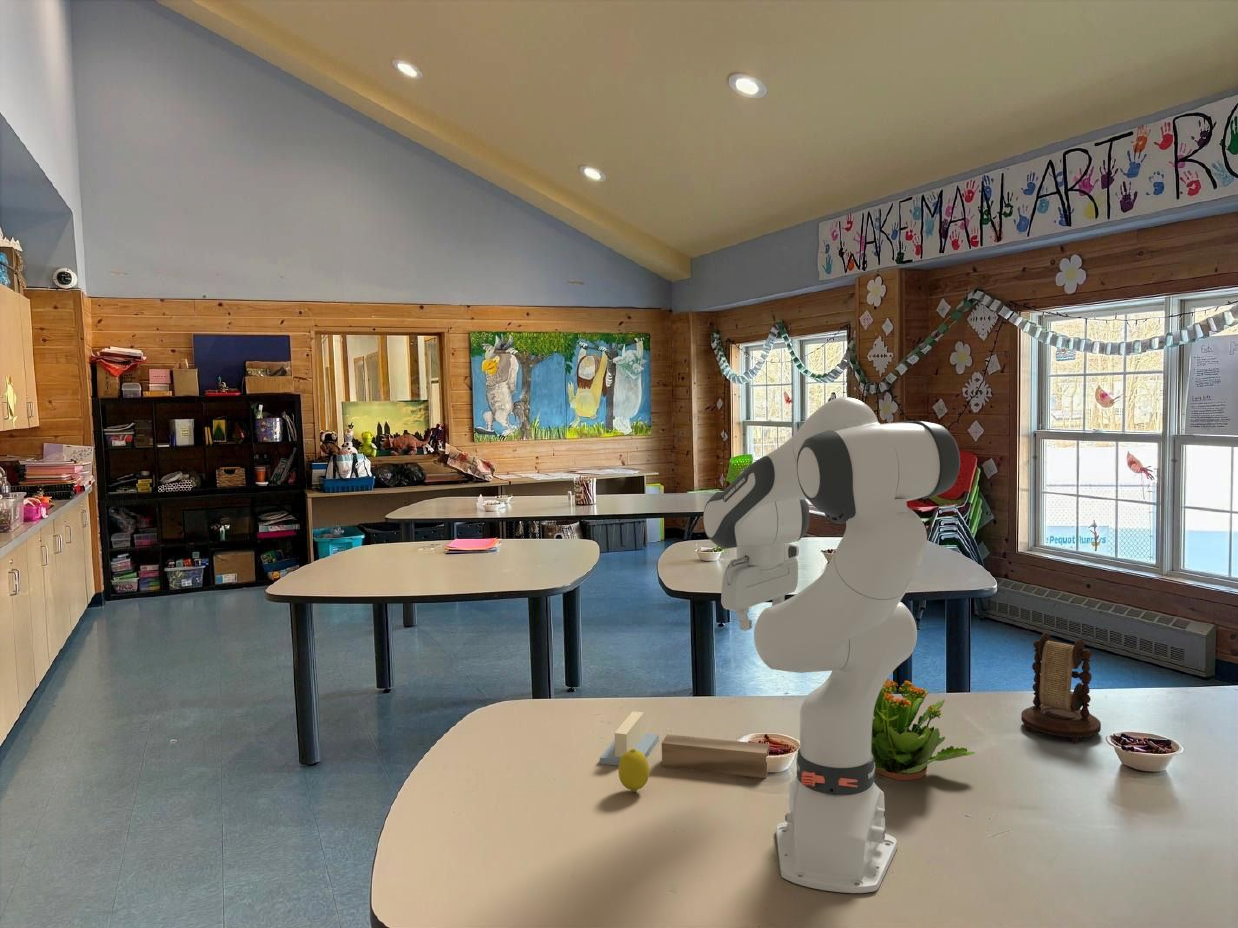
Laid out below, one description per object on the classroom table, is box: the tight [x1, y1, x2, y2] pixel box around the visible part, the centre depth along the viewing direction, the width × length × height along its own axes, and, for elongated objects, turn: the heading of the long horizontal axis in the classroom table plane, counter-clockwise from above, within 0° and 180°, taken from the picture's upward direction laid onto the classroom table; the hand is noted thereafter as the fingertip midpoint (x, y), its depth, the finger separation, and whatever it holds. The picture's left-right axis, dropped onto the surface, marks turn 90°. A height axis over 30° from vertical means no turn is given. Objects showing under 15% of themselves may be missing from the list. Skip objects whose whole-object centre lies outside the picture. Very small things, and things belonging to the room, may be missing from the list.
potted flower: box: [871, 678, 976, 781], centre depth 167 cm, size 25×24×18 cm
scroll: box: [1020, 632, 1102, 744], centre depth 185 cm, size 15×15×20 cm
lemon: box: [618, 749, 650, 793], centre depth 162 cm, size 6×6×8 cm
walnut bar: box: [661, 734, 771, 779], centre depth 171 cm, size 4×20×5 cm, turn 72°
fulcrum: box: [599, 711, 660, 767], centre depth 180 cm, size 14×8×6 cm, turn 162°
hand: (760, 624), depth 170 cm, fingers open, 8 cm apart
